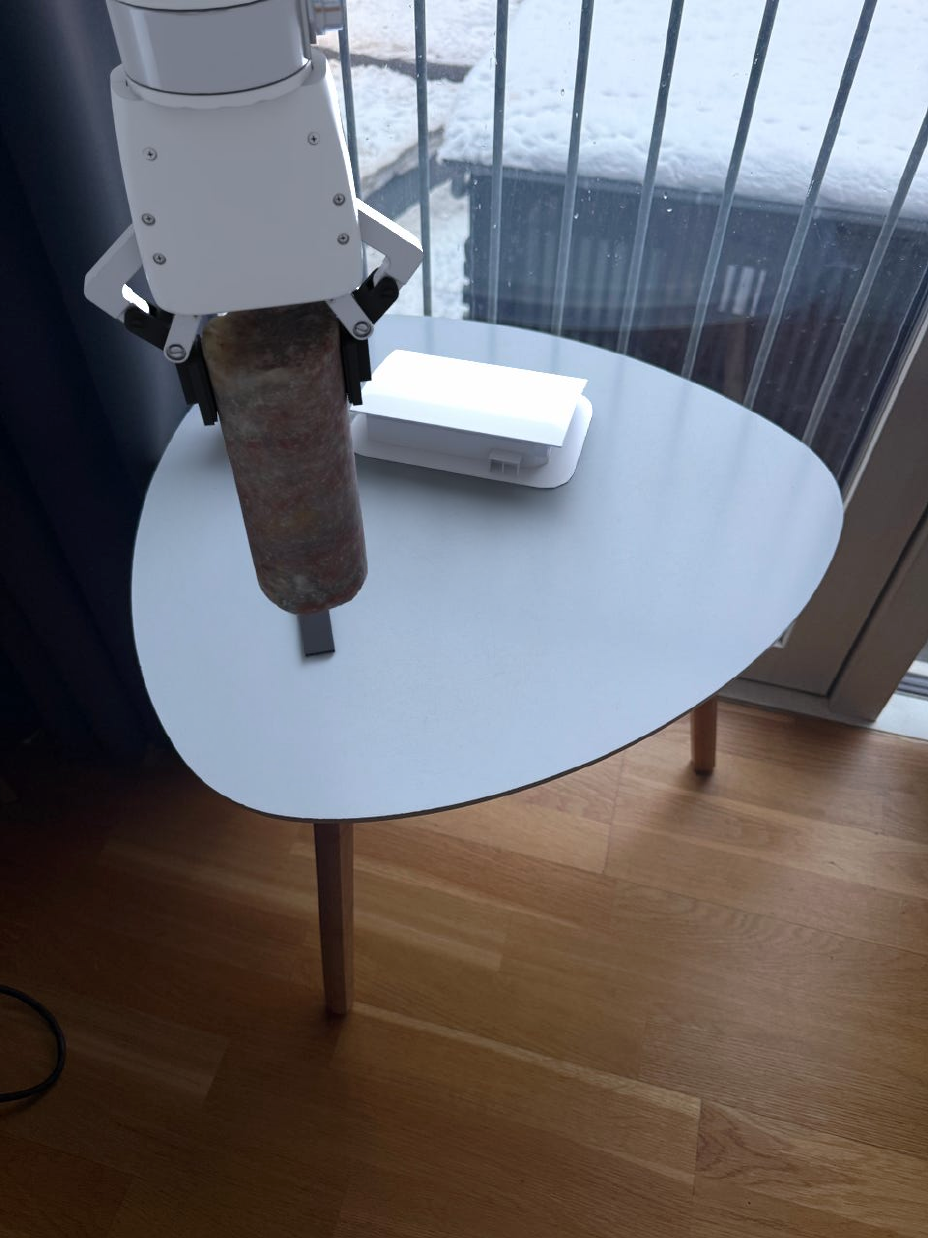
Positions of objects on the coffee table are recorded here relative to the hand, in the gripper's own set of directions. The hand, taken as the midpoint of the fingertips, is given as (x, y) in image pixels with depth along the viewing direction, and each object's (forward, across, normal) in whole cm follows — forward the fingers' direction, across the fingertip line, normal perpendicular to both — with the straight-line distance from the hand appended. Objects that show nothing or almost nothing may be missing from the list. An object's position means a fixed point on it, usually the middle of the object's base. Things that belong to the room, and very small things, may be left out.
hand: (282, 398), depth 50 cm
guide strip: (+27, +1, -17) cm, 32 cm away
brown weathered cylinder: (+15, 0, 0) cm, 15 cm away
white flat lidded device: (+27, -17, -29) cm, 43 cm away
